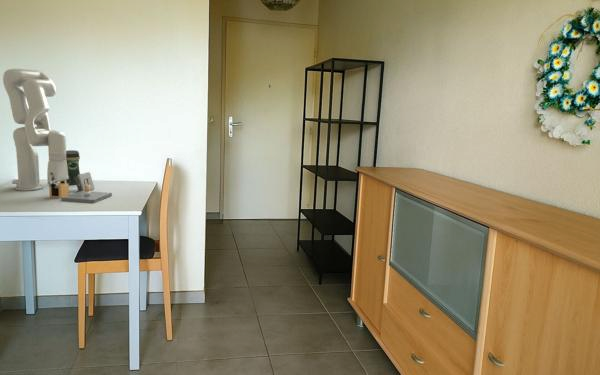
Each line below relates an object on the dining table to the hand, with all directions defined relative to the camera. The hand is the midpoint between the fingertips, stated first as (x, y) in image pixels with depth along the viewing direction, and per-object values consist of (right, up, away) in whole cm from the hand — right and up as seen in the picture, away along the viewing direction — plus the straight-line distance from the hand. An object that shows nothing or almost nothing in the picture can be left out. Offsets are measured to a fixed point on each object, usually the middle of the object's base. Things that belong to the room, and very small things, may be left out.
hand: (59, 194), depth 227 cm
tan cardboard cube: (0, -1, 0) cm, 1 cm away
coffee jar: (-10, +5, +32) cm, 34 cm away
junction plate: (+14, -2, -1) cm, 14 cm away
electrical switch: (+5, +2, +17) cm, 17 cm away
